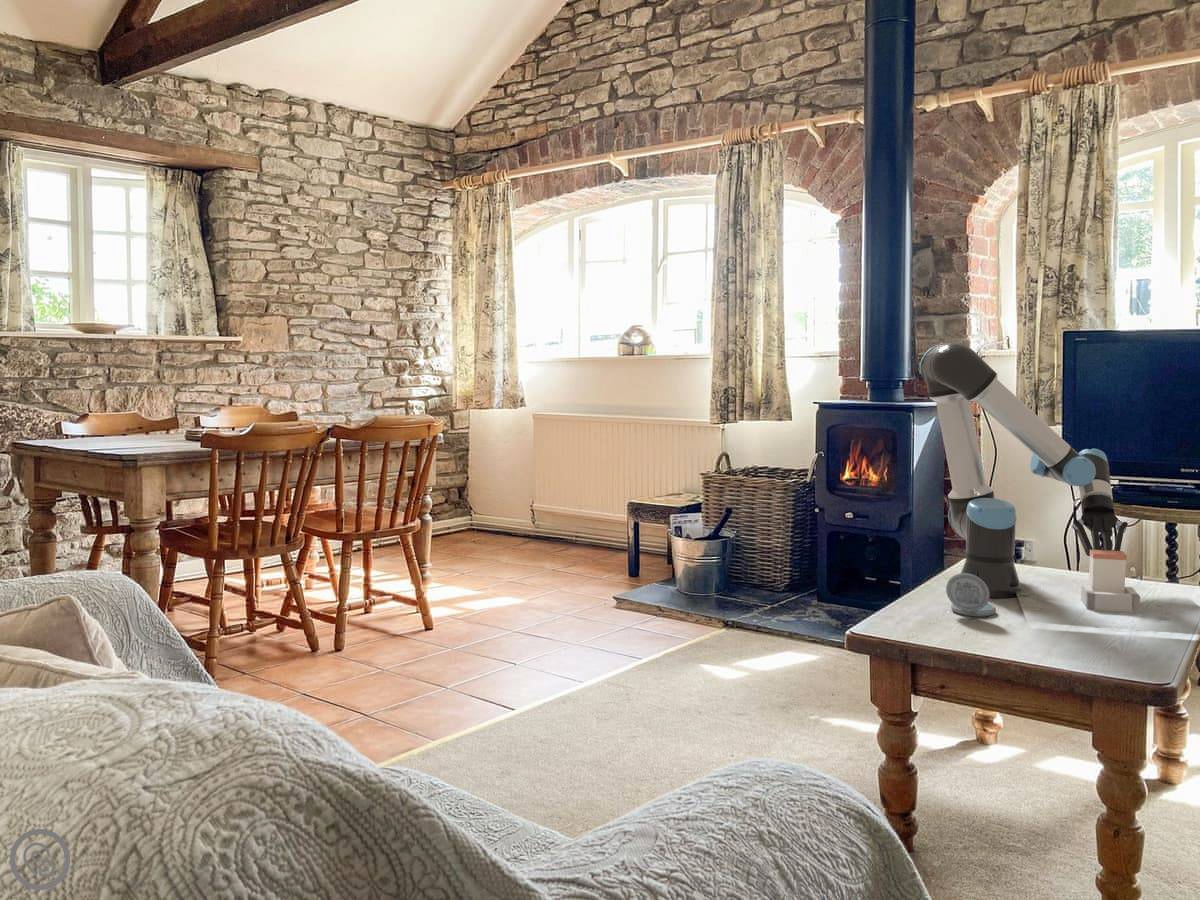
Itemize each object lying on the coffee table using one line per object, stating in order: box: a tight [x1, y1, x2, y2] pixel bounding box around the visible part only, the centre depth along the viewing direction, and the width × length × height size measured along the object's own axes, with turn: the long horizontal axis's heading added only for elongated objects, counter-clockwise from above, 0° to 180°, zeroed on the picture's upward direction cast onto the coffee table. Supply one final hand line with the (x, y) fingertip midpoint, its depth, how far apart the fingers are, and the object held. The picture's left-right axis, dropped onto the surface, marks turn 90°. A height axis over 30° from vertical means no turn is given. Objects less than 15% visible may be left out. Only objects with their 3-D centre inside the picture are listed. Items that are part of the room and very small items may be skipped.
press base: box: [1080, 583, 1141, 613], centre depth 239 cm, size 20×14×5 cm
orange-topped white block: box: [1088, 549, 1127, 593], centre depth 240 cm, size 5×7×12 cm
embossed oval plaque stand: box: [945, 572, 997, 618], centre depth 235 cm, size 10×11×15 cm
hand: (1106, 578), depth 243 cm, fingers closed
